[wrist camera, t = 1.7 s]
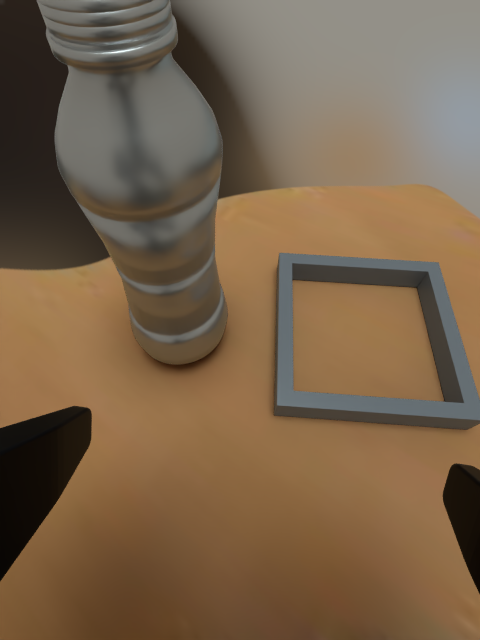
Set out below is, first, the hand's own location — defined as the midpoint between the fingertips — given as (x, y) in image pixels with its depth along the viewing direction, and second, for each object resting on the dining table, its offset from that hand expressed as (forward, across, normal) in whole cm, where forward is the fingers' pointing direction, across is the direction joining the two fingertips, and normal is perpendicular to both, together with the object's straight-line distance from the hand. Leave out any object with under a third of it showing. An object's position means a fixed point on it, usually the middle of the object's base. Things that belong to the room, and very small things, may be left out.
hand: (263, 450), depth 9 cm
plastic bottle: (+17, +6, +3) cm, 19 cm away
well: (+18, -7, +1) cm, 20 cm away
